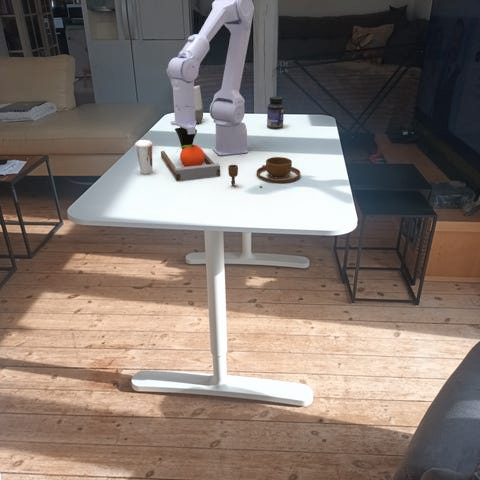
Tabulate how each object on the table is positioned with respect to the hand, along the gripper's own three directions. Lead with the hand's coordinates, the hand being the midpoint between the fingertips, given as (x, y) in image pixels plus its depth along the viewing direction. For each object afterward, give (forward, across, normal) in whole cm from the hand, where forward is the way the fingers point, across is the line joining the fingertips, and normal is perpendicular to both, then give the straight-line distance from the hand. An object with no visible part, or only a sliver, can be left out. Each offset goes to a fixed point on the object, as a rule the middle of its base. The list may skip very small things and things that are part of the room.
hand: (187, 153), depth 127 cm
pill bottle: (+4, -33, +42) cm, 53 cm away
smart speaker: (+4, -51, +14) cm, 53 cm away
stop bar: (+3, +12, 0) cm, 12 cm away
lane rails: (+3, +2, 0) cm, 4 cm away
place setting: (+4, +16, +17) cm, 24 cm away
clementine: (+4, +4, 0) cm, 5 cm away
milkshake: (+4, +3, -12) cm, 13 cm away
